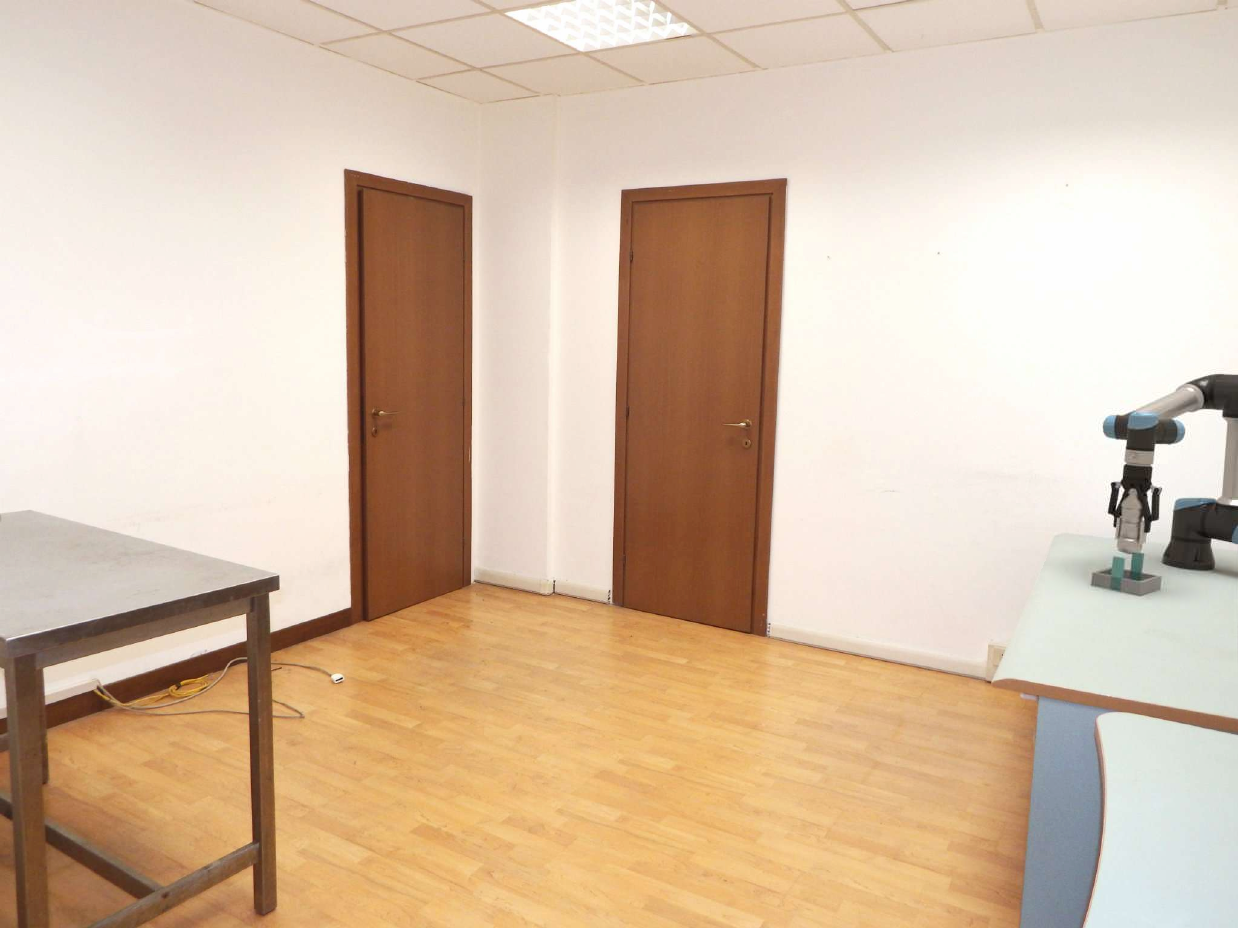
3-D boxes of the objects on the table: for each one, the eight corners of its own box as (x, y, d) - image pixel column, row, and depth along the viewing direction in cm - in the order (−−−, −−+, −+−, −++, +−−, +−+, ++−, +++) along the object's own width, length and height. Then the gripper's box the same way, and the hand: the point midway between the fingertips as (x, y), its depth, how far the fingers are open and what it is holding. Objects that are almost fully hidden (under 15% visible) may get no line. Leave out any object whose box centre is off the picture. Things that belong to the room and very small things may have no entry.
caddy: (1111, 579, 283) (1115, 547, 282) (1160, 589, 273) (1163, 556, 271) (1090, 585, 275) (1094, 552, 274) (1139, 595, 264) (1143, 562, 263)
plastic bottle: (1144, 556, 269) (1151, 490, 266) (1119, 554, 270) (1126, 488, 267) (1136, 552, 275) (1144, 486, 272) (1112, 550, 276) (1119, 485, 274)
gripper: (1099, 461, 274) (1091, 536, 277) (1168, 469, 259) (1159, 548, 262) (1110, 460, 279) (1103, 533, 282) (1178, 467, 264) (1170, 545, 267)
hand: (1130, 540), depth 272 cm, fingers closed on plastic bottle, 6 cm apart
